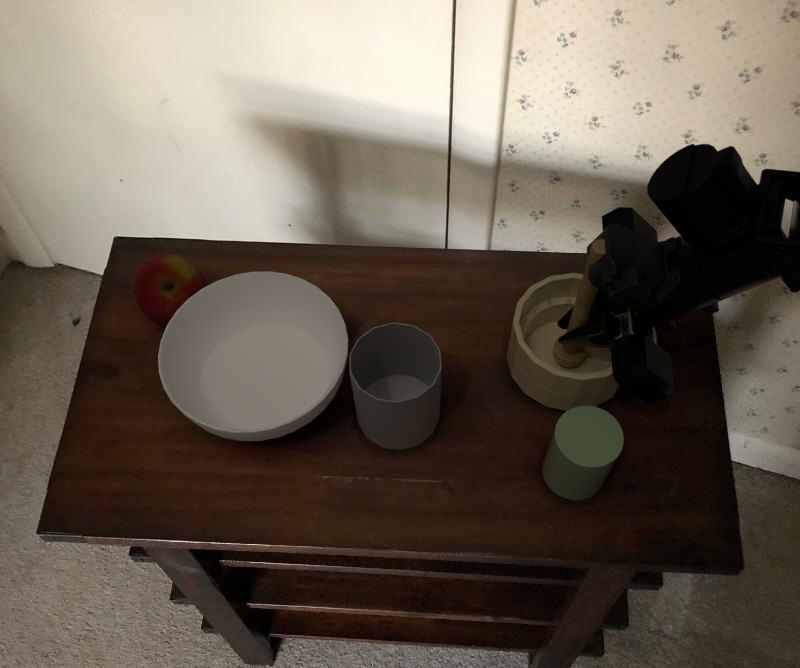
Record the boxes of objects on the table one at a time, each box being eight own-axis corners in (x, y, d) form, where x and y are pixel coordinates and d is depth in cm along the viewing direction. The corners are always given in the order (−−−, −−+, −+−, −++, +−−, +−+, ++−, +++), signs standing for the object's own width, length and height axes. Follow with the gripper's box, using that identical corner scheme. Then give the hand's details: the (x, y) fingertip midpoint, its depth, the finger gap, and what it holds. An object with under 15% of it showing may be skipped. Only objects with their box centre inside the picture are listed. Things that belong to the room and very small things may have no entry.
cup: (442, 447, 76) (444, 399, 67) (358, 452, 76) (350, 405, 67) (435, 374, 80) (437, 319, 71) (356, 378, 80) (348, 324, 71)
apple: (138, 341, 82) (112, 297, 75) (158, 281, 86) (135, 233, 79) (207, 347, 82) (187, 303, 75) (224, 286, 86) (206, 239, 79)
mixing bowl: (577, 296, 84) (589, 255, 78) (649, 378, 79) (668, 341, 73) (484, 345, 81) (489, 307, 75) (552, 433, 76) (564, 400, 70)
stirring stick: (571, 336, 80) (605, 225, 65) (590, 358, 78) (629, 250, 63) (546, 349, 79) (574, 241, 64) (564, 372, 78) (598, 267, 63)
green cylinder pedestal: (579, 433, 76) (595, 394, 69) (617, 480, 74) (638, 445, 66) (529, 461, 75) (541, 425, 68) (567, 511, 72) (582, 479, 65)
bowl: (341, 472, 75) (334, 440, 68) (159, 457, 76) (135, 424, 69) (364, 317, 83) (359, 276, 77) (200, 306, 84) (182, 265, 78)
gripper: (651, 136, 65) (508, 220, 75) (672, 318, 56) (506, 384, 66) (715, 204, 71) (575, 273, 82) (742, 377, 63) (582, 429, 73)
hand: (560, 334), depth 76 cm, fingers closed on stirring stick
